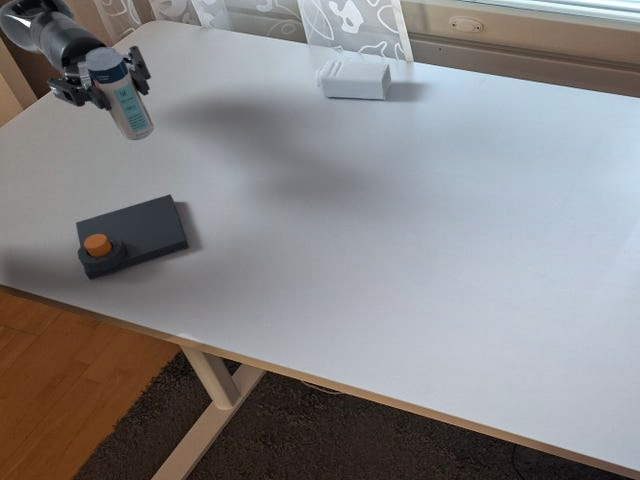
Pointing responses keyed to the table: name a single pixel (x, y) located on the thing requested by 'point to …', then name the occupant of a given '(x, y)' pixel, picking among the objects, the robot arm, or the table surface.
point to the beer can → (119, 92)
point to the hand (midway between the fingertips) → (125, 95)
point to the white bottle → (354, 79)
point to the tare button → (98, 245)
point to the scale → (132, 235)
